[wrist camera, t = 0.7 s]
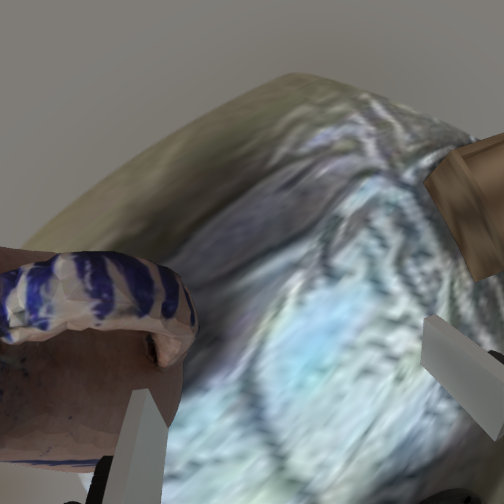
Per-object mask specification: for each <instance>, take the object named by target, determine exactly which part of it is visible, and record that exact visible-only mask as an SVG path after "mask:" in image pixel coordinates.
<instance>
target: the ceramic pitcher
mask: <svg viewBox="0 0 504 504" xmlns="http://www.w3.org/2000/svg"><path fill="white" fill-rule="evenodd" d="M198 333H199V323H198V318H197V312H196V309H195V306H194V303H193V300H192V297H191V294H190V292H189V289H188V288H187V287H186V286H185V285H184V284H183V283H182V282H181V277H180V276H179V275H178V274H177V273H175V272H174V271H172V270H171V269H169V268H168V267H165V266H160V265H156V264H155V263H153V262H152V261H150V260H146V259H142V258H138V257H134V256H130V255H126V254H122V253H118V252H115V251H82V252H69V253H54V252H42V251H28V250H22V249H11V248H6V247H0V462H4V463H9V464H14V465H20V466H26V467H33V468H41V469H47V470H55V471H64V472H76V473H90V472H94V471H95V467H96V464H97V463H98V462H99V460H100V459H101V458H102V457H103V456H113V455H114V453H115V450H116V446H117V442H118V439H119V435H120V432H121V428H122V425H123V421H124V418H125V414H126V411H127V408H128V404H129V401H130V398H131V394H132V391H133V390H139V389H149V391H150V394H151V396H152V398H153V400H154V402H155V404H156V406H157V408H158V410H159V412H160V414H161V416H162V418H163V420H164V422H165V424H166V426H167V428H169V427H170V425H171V423H172V421H173V420H174V417H175V415H176V412H177V410H178V407H179V403H180V399H181V393H182V385H183V362H184V359H185V358H186V356H187V355H188V349H189V348H190V347H191V345H192V343H193V342H194V341H195V339H196V337H197V335H198Z"/></svg>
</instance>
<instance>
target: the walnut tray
mask: <svg viewBox="0 0 504 504" xmlns="http://www.w3.org/2000/svg"><path fill="white" fill-rule="evenodd" d="M423 184H424V185H425V187H426V188H427V190H428V192H429V193H430V195H431V197H432V199H433V200H434V202H435V204H436V205H437V207H438V209H439V211H440V213H441V214H442V216H443V218H444V220H445V222H446V224H447V225H448V227H449V229H450V231H451V233H452V235H453V237H454V239H455V241H456V243H457V245H458V247H459V249H460V251H461V253H462V255H463V257H464V259H465V261H466V264H467V266H468V268H469V270H470V272H471V275H472V277H473V279H474V281H475V282H477V281H480V280H482V279H485V278H487V277H490V276H492V275H494V274H497V273H499V272H502V271H504V133H501V134H498V135H495V136H492V137H489V138H486V139H483V140H480V141H477V142H474V143H471V144H469V145H466V146H463V147H460V148H457V149H454V150H451V151H450V152H449V153H448V154H447V156H446V157H445V158H444V159H443V160H442V161H441V163H440V164H439V165H438V166H437V167H436V168H435V170H434V171H433V172H432V173H431V174H430V175H429V177H428V178H427V179H426V180H425V181H424V182H423Z"/></svg>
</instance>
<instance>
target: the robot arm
mask: <svg viewBox="0 0 504 504" xmlns="http://www.w3.org/2000/svg"><path fill="white" fill-rule="evenodd" d="M420 364H421V365H422V366H423V367H424V368H425V369H426V370H427V371H428V372H429V373H430V374H431V375H432V376H433V377H434V378H435V379H436V380H437V381H438V382H439V383H440V384H441V385H442V386H443V387H444V388H445V389H446V390H447V391H448V392H449V394H450V395H451V396H452V397H453V398H454V399H455V400H456V401H457V402H458V403H459V404H460V405H461V406H462V407H463V408H464V409H465V410H466V411H467V412H468V413H469V415H470V416H471V417H472V418H473V419H474V420H475V421H476V422H477V423H478V424H479V425H480V426H481V427H482V428H483V430H484V431H485V432H486V433H487V434H488V435H489V436H490V437H491V438H492V439H493V440H494V442H495V441H497V440H498V439H500V438H501V437H502V436H504V355H502V354H501V353H498V352H496V351H493V350H490V351H488V352H486V351H485V350H484V349H482V348H481V347H480V346H478V345H477V344H476V343H474V342H473V341H472V340H470V339H469V338H468V337H466V336H465V335H464V334H462V333H461V332H460V331H458V330H457V329H456V328H454V327H453V326H451V325H450V324H449V323H447V322H446V321H445V320H443V319H442V318H440V317H439V316H438V315H436V314H435V315H432V316H429V317H427V318H424V323H423V338H422V351H421V361H420ZM168 430H169V429H168V428H167V426H166V424H165V422H164V420H163V418H162V416H161V414H160V412H159V410H158V408H157V406H156V404H155V402H154V400H153V398H152V396H151V394H150V391H149V389H139V390H133V391H132V394H131V398H130V401H129V404H128V408H127V411H126V414H125V418H124V421H123V425H122V428H121V432H120V435H119V439H118V442H117V446H116V450H115V453H114V455H113V456H103V457H102V458H101V459H100V460H99V462H98V463H97V464H96V467H95V471H94V474H93V475H94V476H93V478H92V481H91V483H92V484H91V485H90V488H89V492H88V495H87V499H86V503H85V504H161V495H162V485H163V474H164V465H165V456H166V447H167V438H168ZM64 504H81V503H79V502H74V501H70V502H67V503H64ZM420 504H485V502H484V501H483V499H482V498H481V497H479V496H478V495H476V494H474V493H473V492H471V491H469V490H466V489H451V490H447V491H444V492H441V493H438V494H436V495H434V496H432V497H430V498H428V499H426V500H424V501H423V502H421V503H420Z"/></svg>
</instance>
